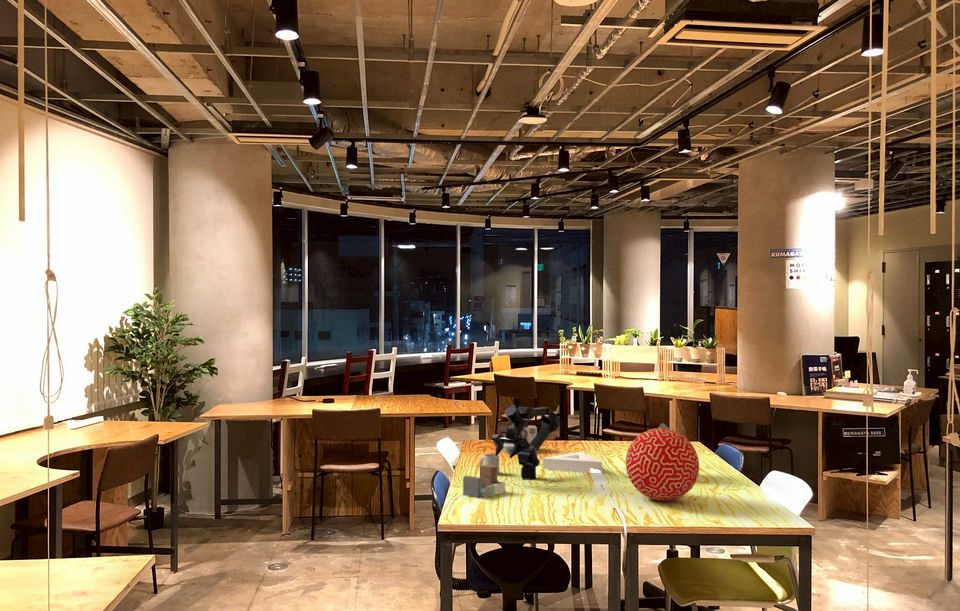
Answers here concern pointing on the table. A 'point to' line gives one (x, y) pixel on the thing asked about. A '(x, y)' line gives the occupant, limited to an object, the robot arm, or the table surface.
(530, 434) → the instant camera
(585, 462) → the triangular ruler
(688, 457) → the ball
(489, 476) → the gauge carriage
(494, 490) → the gauge base
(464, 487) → the grey square slab
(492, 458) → the cup
